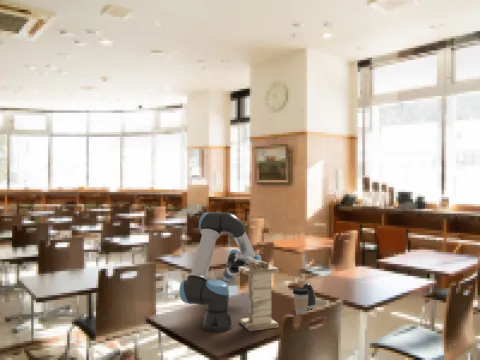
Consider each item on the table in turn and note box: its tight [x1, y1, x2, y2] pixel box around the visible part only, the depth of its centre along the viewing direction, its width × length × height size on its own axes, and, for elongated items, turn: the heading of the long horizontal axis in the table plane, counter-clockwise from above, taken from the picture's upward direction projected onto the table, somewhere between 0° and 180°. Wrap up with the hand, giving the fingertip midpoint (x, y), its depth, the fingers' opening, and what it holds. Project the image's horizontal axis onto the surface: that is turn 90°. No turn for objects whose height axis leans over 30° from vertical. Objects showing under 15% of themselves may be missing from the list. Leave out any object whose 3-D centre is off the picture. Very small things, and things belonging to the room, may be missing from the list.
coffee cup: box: [292, 287, 309, 317], centre depth 229 cm, size 9×9×15 cm
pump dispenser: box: [301, 283, 317, 311], centre depth 242 cm, size 10×10×15 cm
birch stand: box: [238, 259, 280, 332], centre depth 214 cm, size 14×18×33 cm
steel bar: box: [239, 253, 262, 268], centre depth 227 cm, size 28×3×3 cm, turn 20°
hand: (245, 254), depth 233 cm, fingers open, 9 cm apart
